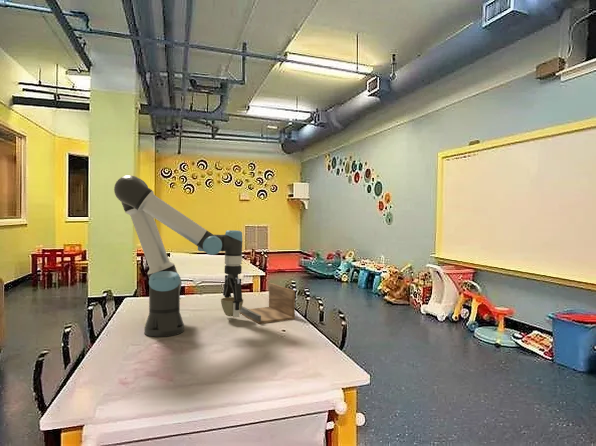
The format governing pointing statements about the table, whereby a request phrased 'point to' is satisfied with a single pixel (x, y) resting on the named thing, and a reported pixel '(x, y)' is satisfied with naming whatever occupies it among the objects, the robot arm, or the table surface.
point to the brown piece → (274, 306)
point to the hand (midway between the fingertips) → (231, 314)
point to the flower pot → (229, 305)
